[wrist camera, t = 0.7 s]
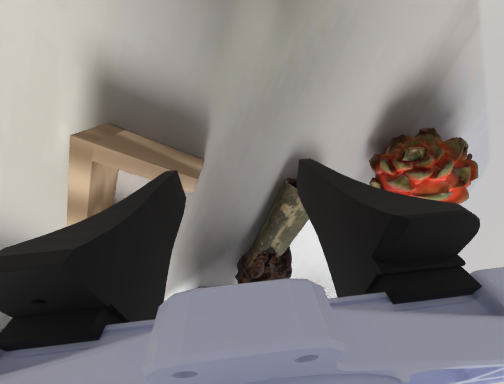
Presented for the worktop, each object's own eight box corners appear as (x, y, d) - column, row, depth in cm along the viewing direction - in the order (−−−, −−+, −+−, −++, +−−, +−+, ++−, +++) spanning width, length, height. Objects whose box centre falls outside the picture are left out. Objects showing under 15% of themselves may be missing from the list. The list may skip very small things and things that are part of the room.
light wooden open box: (172, 247, 27) (161, 279, 22) (95, 229, 24) (65, 262, 19) (204, 160, 21) (197, 179, 17) (107, 123, 18) (70, 135, 14)
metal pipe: (282, 172, 23) (297, 195, 18) (325, 190, 25) (349, 215, 20) (228, 267, 30) (229, 302, 25) (265, 275, 32) (273, 309, 27)
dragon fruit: (349, 136, 23) (408, 159, 28) (345, 205, 22) (407, 217, 27) (440, 100, 15) (501, 140, 20) (441, 204, 14) (505, 221, 19)
